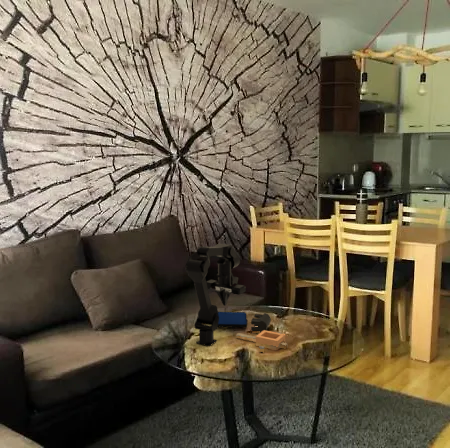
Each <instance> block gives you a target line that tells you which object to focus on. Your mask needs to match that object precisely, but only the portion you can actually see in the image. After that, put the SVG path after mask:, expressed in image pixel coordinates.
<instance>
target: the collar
mask: <svg viewBox="0 0 450 448" xmlns="http://www.w3.org/2000/svg"><path fill="white" fill-rule="evenodd" d="M280 333H281V332H280ZM280 333H277V332H274V331H269V330H263V331H262V332H261V333H259V334H257V335H255V336H256V342H259V343H262V344H268V345H273V346H276V347H278V346H279V344H280V343H281V342H282V341H283V342H284V341H285V342H286V334H285V333H282V334H280Z"/></svg>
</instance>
